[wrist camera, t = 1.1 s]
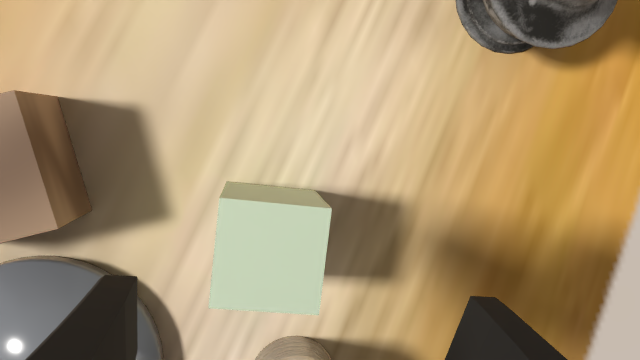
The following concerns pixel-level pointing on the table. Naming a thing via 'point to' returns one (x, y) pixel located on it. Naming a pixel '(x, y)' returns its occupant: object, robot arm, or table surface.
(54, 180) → the walnut block
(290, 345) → the grey tin
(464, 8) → the dark grey tall piece
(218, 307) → the sage block
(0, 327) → the coaster
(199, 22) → the table surface
